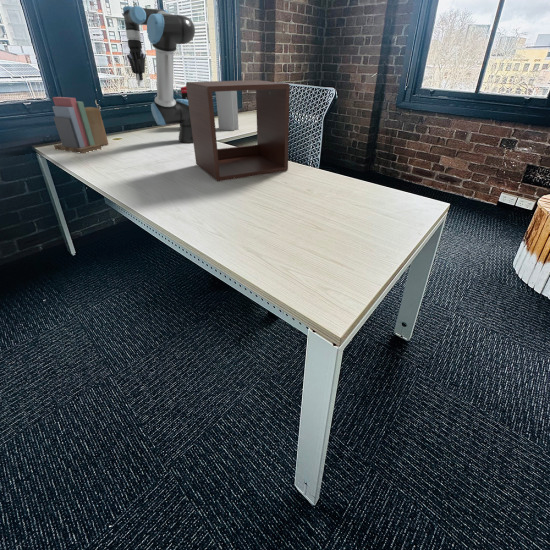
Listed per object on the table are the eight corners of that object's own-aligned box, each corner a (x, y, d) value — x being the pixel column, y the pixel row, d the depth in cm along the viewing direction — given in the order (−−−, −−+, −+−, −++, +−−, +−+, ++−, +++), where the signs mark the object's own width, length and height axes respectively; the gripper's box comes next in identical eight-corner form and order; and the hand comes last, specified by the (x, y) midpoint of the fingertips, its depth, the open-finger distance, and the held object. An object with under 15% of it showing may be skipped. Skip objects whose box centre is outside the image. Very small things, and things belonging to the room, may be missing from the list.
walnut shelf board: (101, 148, 190) (100, 145, 189) (83, 153, 181) (82, 149, 180) (73, 145, 199) (72, 141, 198) (54, 149, 190) (53, 145, 189)
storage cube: (216, 181, 140) (206, 86, 121) (196, 165, 161) (185, 82, 142) (287, 170, 153) (289, 83, 134) (260, 156, 175) (258, 80, 156)
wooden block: (93, 147, 192) (82, 109, 181) (84, 145, 198) (73, 108, 187) (109, 145, 199) (99, 108, 188) (101, 142, 204) (91, 106, 193)
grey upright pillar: (238, 129, 241) (236, 82, 225) (234, 130, 237) (231, 82, 221) (223, 127, 248) (220, 81, 231) (218, 129, 244) (214, 81, 227)
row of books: (95, 144, 190) (81, 97, 177) (79, 148, 183) (63, 99, 169) (77, 142, 196) (62, 96, 183) (61, 145, 188) (44, 98, 175)
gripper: (147, 40, 195) (153, 86, 205) (131, 42, 199) (137, 87, 209) (137, 38, 188) (144, 85, 198) (120, 39, 193) (128, 86, 203)
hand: (140, 86), depth 204 cm, fingers closed
